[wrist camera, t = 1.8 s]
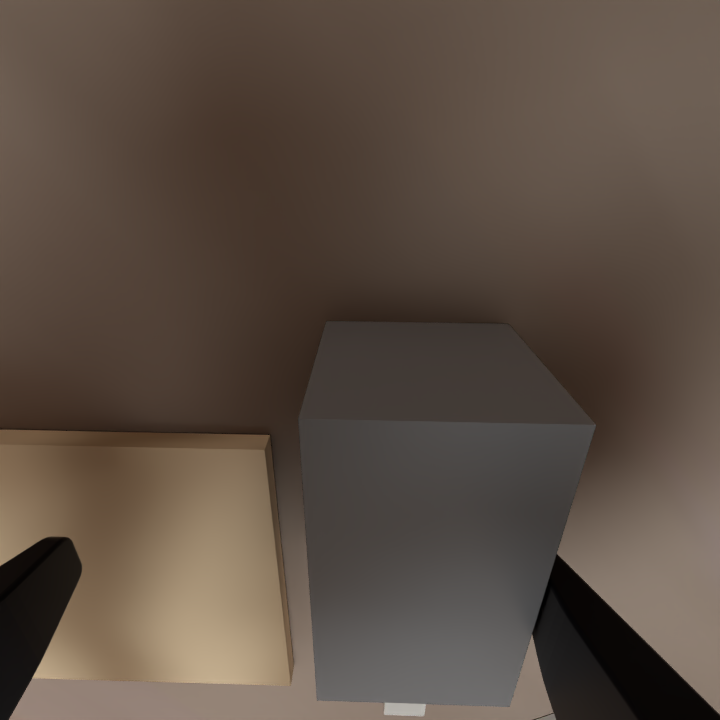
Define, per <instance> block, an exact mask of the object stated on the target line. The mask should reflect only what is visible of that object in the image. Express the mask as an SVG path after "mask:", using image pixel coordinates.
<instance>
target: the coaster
mask: <svg viewBox="0 0 720 720" xmlns="http://www.w3.org/2000/svg"><path fill="white" fill-rule="evenodd" d="M51 536H55V537H68V538H70V539H71V540H72V541H73V544H74V546H75V548H76V551H77V553H78V556H79V558H80V560H81V563H82V573H81V577H80V580H79V582H78V584H77V586H76V588H75V590H74V592H73V595H72V597H71V599H70V601H69V603H68V605H67V608H66V610H65V612H64V614H63V616H62V618H61V621H60V623H59V625H58V627H57V629H56V631H55V634H54V636H53V638H52V640H51V642H50V644H49V647H48V649H47V651H46V653H45V655H44V657H43V659H42V661H41V663H40V665H39V667H38V668H37V670H36V672H35V674H34V676H33V678H43V679H77V680H112V681H146V682H180V683H214V684H248V685H282V686H291V681H292V675H293V668H294V664H293V654H292V645H291V635H290V625H289V615H288V606H287V596H286V586H285V576H284V566H283V557H282V547H281V537H280V527H279V518H278V508H277V498H276V488H275V479H274V469H273V459H272V449H271V439H270V435H244V434H195V433H145V432H96V431H47V430H0V566H1V565H2V564H4V563H6V562H7V561H9V560H10V559H12V558H13V557H15V556H17V555H18V554H20V553H21V552H23V551H24V550H26V549H27V548H29V547H31V546H32V545H34V544H35V543H37V542H38V541H40V540H42V539H44V538H46V537H51Z"/></svg>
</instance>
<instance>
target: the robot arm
mask: <svg viewBox="0 0 720 720" xmlns="http://www.w3.org/2000/svg"><path fill="white" fill-rule="evenodd" d="M81 573H82V563H81V560H80V558H79V556H78V553H77V551H76V548H75V546H74V544H73V541H72V540H71V539H70V538H68V537H55V536H51V537H46V538H44V539H42V540H40V541H38V542H37V543H35V544H34V545H32V546H31V547H29V548H27V549H26V550H24V551H23V552H21V553H20V554H18V555H17V556H15V557H13V558H12V559H10V560H9V561H7V562H6V563H4V564H2V565H1V566H0V720H9V718H10V716H11V715H12V713H13V711H14V709H15V708H16V706H17V704H18V702H19V701H20V699H21V697H22V695H23V694H24V692H25V690H26V688H27V686H28V685H29V683H30V681H31V679H32V678H33V676H34V674H35V672H36V670H37V668H38V667H39V665H40V663H41V661H42V659H43V657H44V655H45V653H46V651H47V649H48V647H49V644H50V642H51V640H52V638H53V636H54V634H55V631H56V629H57V627H58V625H59V623H60V621H61V618H62V616H63V614H64V612H65V610H66V608H67V605H68V603H69V601H70V599H71V597H72V595H73V592H74V590H75V588H76V586H77V584H78V582H79V580H80V577H81ZM532 635H533V639H534V643H535V648H536V652H537V657H538V661H539V665H540V669H541V673H542V677H543V681H544V684H545V687H546V691H547V694H548V697H549V700H550V703H551V706H552V709H553V712H554V715H555V718H556V720H720V714H719V713H718V712H717V711H716V710H714V709H713V708H712V707H711V706H710V705H709V704H708V703H707V702H706V701H705V700H704V699H703V698H702V697H701V696H700V695H699V694H698V693H697V692H696V691H695V690H694V689H693V688H692V687H691V686H690V685H689V684H688V683H687V682H686V681H685V680H684V679H683V678H682V677H681V676H680V675H679V674H678V673H677V672H676V671H675V670H674V669H673V668H672V667H671V666H670V665H669V664H668V663H667V662H666V661H665V660H664V659H663V658H662V657H661V656H660V655H659V654H658V653H657V652H656V651H655V650H654V649H653V648H652V647H651V646H650V645H649V644H648V643H647V642H646V641H645V640H644V639H643V638H642V637H641V636H639V635H638V634H637V633H636V632H635V631H634V630H633V629H632V628H631V627H630V626H629V625H628V624H627V623H626V622H625V621H624V620H623V619H622V618H621V617H620V616H619V615H618V614H617V613H616V612H615V611H614V610H613V609H612V608H611V607H610V606H609V605H608V604H607V603H606V602H605V601H604V600H603V599H602V598H601V597H600V596H599V595H598V594H597V593H596V592H595V591H594V590H593V589H592V588H591V587H590V586H589V585H588V584H587V583H586V582H585V581H584V580H583V579H582V578H581V577H580V576H579V575H578V574H577V573H576V572H575V571H574V570H573V569H572V568H571V567H570V566H569V565H568V564H567V563H566V562H564V561H563V560H562V559H561V558H560V557H559V556H558V555H557V554H556V557H555V561H554V564H553V567H552V570H551V574H550V577H549V580H548V583H547V587H546V590H545V593H544V596H543V600H542V603H541V606H540V609H539V613H538V616H537V619H536V622H535V626H534V629H533V632H532Z"/></svg>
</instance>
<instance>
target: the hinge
mask: <svg viewBox="0 0 720 720" xmlns="http://www.w3.org/2000/svg"><path fill="white" fill-rule="evenodd" d="M536 720H556V718H555V715H554V714H551V715H548V716H545V717H542V718H539V719H536Z"/></svg>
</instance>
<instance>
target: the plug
mask: <svg viewBox="0 0 720 720" xmlns="http://www.w3.org/2000/svg"><path fill="white" fill-rule="evenodd" d="M298 424H299V439H300V454H301V469H302V484H303V499H304V514H305V529H306V544H307V559H308V574H309V589H310V603H311V618H312V633H313V648H314V663H315V678H316V693H317V700H321V701H350V702H380V703H384V715H403V716H424V713H425V706H426V704H439V705H468V706H498V707H510V704H511V700H512V697H513V694H514V691H515V687H516V684H517V681H518V678H519V674H520V671H521V668H522V665H523V661H524V658H525V655H526V652H527V648H528V645H529V642H530V639H531V635H532V632H533V629H534V626H535V622H536V619H537V616H538V613H539V609H540V606H541V603H542V600H543V596H544V593H545V590H546V587H547V583H548V580H549V577H550V574H551V570H552V567H553V564H554V561H555V557H556V554H557V551H558V548H559V544H560V541H561V538H562V535H563V531H564V528H565V525H566V522H567V518H568V515H569V512H570V509H571V505H572V502H573V499H574V496H575V492H576V489H577V486H578V483H579V479H580V476H581V473H582V470H583V466H584V463H585V460H586V457H587V453H588V450H589V447H590V444H591V440H592V437H593V434H594V431H595V427H596V424H595V423H594V422H593V421H592V420H591V418H590V417H589V416H588V415H587V414H586V413H585V412H584V410H583V409H582V408H581V407H580V406H579V405H578V403H577V402H576V401H575V400H574V399H573V398H572V397H571V395H570V394H569V393H568V392H567V391H566V390H565V388H564V387H563V386H562V385H561V384H560V383H559V381H558V380H557V379H556V378H555V377H554V376H553V375H552V373H551V372H550V371H549V370H548V369H547V368H546V366H545V365H544V364H543V363H542V362H541V361H540V360H539V358H538V357H537V356H536V355H535V354H534V353H533V351H532V350H531V349H530V348H529V347H528V346H527V345H526V343H525V342H524V341H523V340H522V339H521V338H520V336H519V335H518V334H517V333H516V332H515V331H514V330H513V328H512V327H511V326H510V325H509V324H488V323H423V322H358V321H326V324H325V327H324V331H323V334H322V338H321V341H320V345H319V348H318V352H317V355H316V358H315V362H314V365H313V369H312V372H311V376H310V379H309V383H308V386H307V390H306V393H305V397H304V400H303V404H302V407H301V411H300V414H299V418H298Z"/></svg>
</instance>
